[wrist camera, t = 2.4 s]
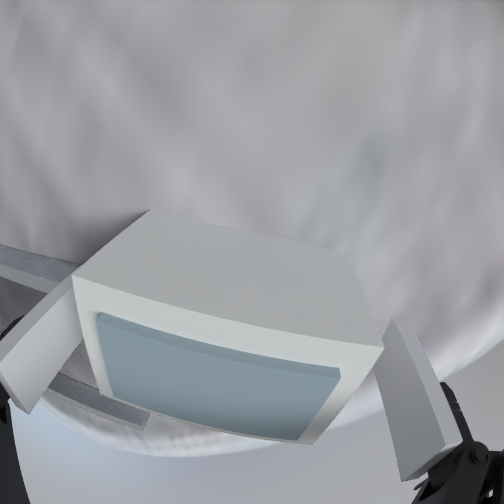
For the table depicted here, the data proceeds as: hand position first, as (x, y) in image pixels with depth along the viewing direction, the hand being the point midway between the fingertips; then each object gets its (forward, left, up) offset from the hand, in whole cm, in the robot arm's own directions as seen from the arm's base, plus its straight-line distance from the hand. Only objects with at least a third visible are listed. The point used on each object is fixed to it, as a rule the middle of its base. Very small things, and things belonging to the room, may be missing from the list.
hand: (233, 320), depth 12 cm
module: (0, 0, -2) cm, 2 cm away
